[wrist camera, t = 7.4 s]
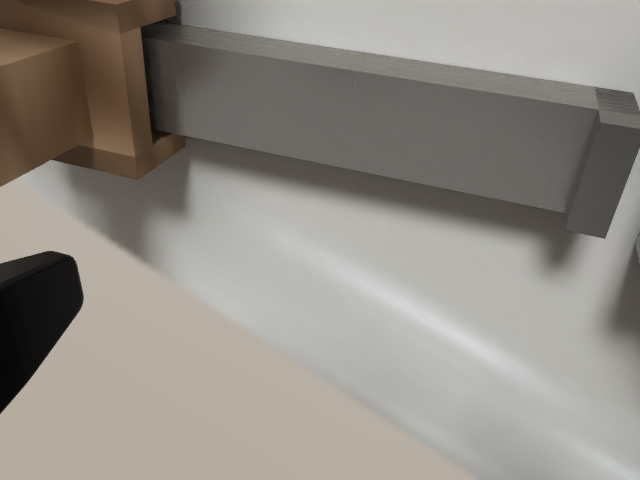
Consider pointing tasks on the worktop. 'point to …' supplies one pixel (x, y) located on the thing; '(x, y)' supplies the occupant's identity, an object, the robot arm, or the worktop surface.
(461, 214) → the worktop surface
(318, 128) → the rail
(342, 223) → the worktop surface
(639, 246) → the box
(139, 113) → the carriage
